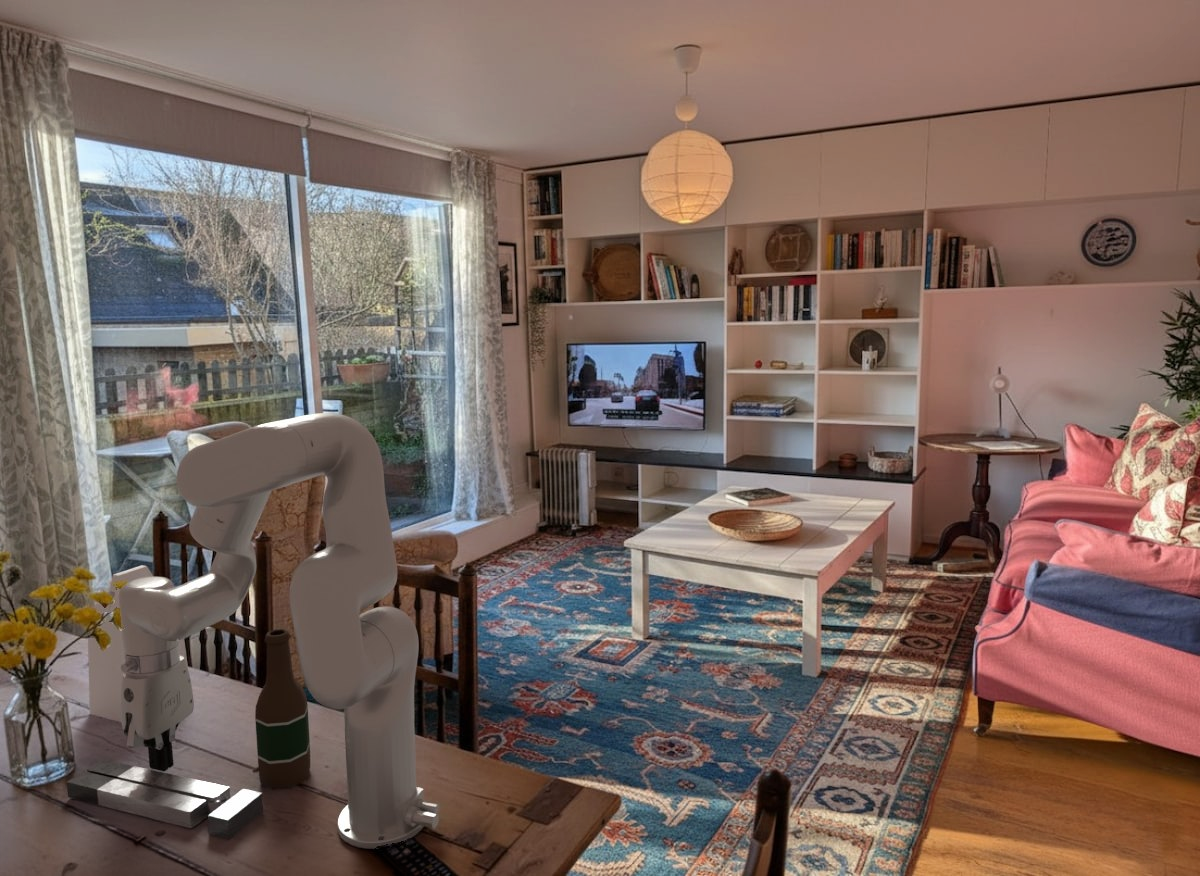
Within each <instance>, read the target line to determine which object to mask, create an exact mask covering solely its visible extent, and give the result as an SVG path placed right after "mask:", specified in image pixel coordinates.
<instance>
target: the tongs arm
mask: <svg viewBox="0 0 1200 876" xmlns="http://www.w3.org/2000/svg"><path fill="white" fill-rule="evenodd" d="M86 772H90V773H94V774H98V775H102V776H106V777H110V778H115V779H119V780H123V781H127V782H131V783H136V784H140V785H144V786H148V787H152V788H157V789H161V790H165V791H169V792H173V793H178V794H182V795H186V796H190V797H194V798H199V799H203V800H206V805H207V813H208V815H209V814H211V813H212V812H213V811H214V810H216V809H217V808H218V807H220V806H221V805H222V804H224V803H225V802H226V801H228V800H229V799H230V798H231V788H230V786H227V785H222V784H218V783H213V782H208V781H204V780H199V779H195V778H191V777H185V776H181V775H178V774H177V775H176V774H171V773H167V772H164V771H159V770H155V769H150V768H149V769H148V768H143V767H139V766H135V765H129V764H125V763H121V762H117V761H111V760H106V759H103V760H101V761H99V762H98V763H96V764H94V765H93V766H91V767H89V768H87V769H86Z"/></svg>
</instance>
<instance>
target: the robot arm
mask: <svg viewBox="0 0 1200 876" xmlns="http://www.w3.org/2000/svg"><path fill="white" fill-rule="evenodd" d="M382 458H383V457H382V454H381V450H380V447H379V445H378V443H377V441H376V439H375V437H374V436H373V435H372V433H371V432H370V431H369V429H368V428H367V427H366V426H364V425H363V424H362V423H361V422H360V421H358V420H356V419H354V418H353V417H350V416H348V415H345V414H341V413H335V412H322V413H321V412H318V413H311V414H306V415H300V416H295V417H291V418H290V417H289V418H287V419H281V420H276V421H270V422H267V423H262V424H258V425H254V426H252V427H249V428H247V429H244V430H241V431H238V432H235V433H232V434H230V435H226V436H224V437H221V438H218V439H215V440H212V441H209V442H206V443H203V444H200V445H197V446H195V447H193V448H192V449H190V450H189V451H188V452H187V453H186V454H185V455H184V456H183V458H181V461H180V463H179V464H178V467H177V472H176V486H177V489H178V491H179V493H180V496H181V498H183V500H184V501H185V502H187V503H188V504H190V505H191V506H194V507H195V510H194V511H193V514H192V517H191V518H190V521H189V526H188V527H189V533H190V536H192V538H193V539H194V540H195V541H196V542H197V543H198V544H200V545H201V547H204V548H206V549H208V550H210V551H213V552H216V554H215V557H214V559H213V561H212V563H211V566H210V568H209V570H208V572H207V573H206V574H204V575H202V576H199V577H197V578H194V579H193V580H190V581H187V582H185V583H182V584H180V585H178V586H175V584H174V583H173V581H172V580H171V579H169V578H168V577H165V576H153V577H144V578H139V579H135V580H133V581H130V582H128V583H126V584H125V585H123V586H122V588H121V589H120V592H119V605H120V616H121V627H122V629H123V628H125V629H124V630H122V638H123V650H124V660H125V663H124V664H122V665H121V670H122V672H124V673H125V674H123V680H122V688H121V722H120V723H121V727H122V732H123V735H124V736H126V737H127V742H126V746H127V748H131V749H137V748H141V747H145V748H147V750H148V751H147V752H148V753H147V754H148V764H149V769H150V770H154V771H159V772H166V771H167V770H169V769H171V768H172V767H174V763H175V762H174V754H173V753H174V752H173V743H172V742H174V741H175V739H176V732H177V730H178V727H179V726H180V725H179V724H182V722H183V721H184V720H185V719H187V718H188V717H190V716H191V715H192V713H193V712H194V709H195V704H194V701H195V700H194V693H193V692H194V691H193V686H192V681H191V677H190V672H189V667H188V668H187V665H186V662H185V659H184V657H183V656H180V650H179V640H182V639H184V640H185V639H187V638H188V637H190V636H193V635H195V634H197V633H199V632H201V631H203V630H204V629H206V628H209V627H211V626H212V625H215V624H217V623H219V622H221V621H223V620H225V619H227V618H229V617H230V616H232V615H233V614H235V613H236V611H237V610H238V609H239V608H240V607H241V606H242V604H243V602H244V600H245V598H246V596H247V594H248V592H249V589H250V587H251V586H252V583H253V580H254V578H255V575H256V571H257V557H256V550H255V548H254V545H253V542H252V541H251V539H252V537H253V535H254V532H255V530H256V528H257V525H258V524H259V521H260V518H261V517H262V514H263V512H264V509H265V507H266V505H267V503H268V500H269V497H270V495H271V493H272V491H275V490H277V489H282V488H285V487H288V486H291V485H295V484H298V483H301V482H304V481H307V480H308V481H309V480H311V479H314V478H317V477H319V476H325V477H326V478H327V482H326V487H325V490H324V494H323V500H322V518H323V523H324V527H325V537H326V538H325V539H326V544H325V545H326V546H325V548H324V549H322V550H319V551H317V552H316V553H313V554H311V555H309V556H308V557H307V558H306V559H304V560H303V561H302V562H301V563H300V564H299V565H298V566H297V568H296V569H295V571H294V572H293V575H292V578H291V580H290V581H291V582H290V586H289V594H288V595H289V604H290V605H289V606H290V607H289V608H290V613H291V619H292V623H293V630H294V637H295V642H296V647H297V654H298V658H299V664H300V665H299V666H300V669H301V670H300V671H301V674H302V677H303V678H302V679H303V681H304V683H305V686H306V687H307V690H308V692H309V693H310V694H311V696H312V697H313V698H314V699H315V700H316V702H318V703H319V704H320V705H322V706H323V707H326V708H327V709H331V710H342V709H344V713H343V714H344V715H343V716H344V717H343V718H344V742H345V744H344V745H345V764H346V783H347V785H346V786H347V789H346V790H347V805H346V806H345V807H344V808H343V809H342V810H341V812H340V813H339V815H338V818H337V833H338V834H339V837H340V838H341V839H342V840H343V841H344V842H345V843H347V844H349V845H351V846H354V847H356V848H360V849H361V848H362V849H370V850H371V849H375V848H376V847H377V846H381V845H386V844H388V845H389V844H392V843H397V842H401V841H403V840H405V839H408V838H410V839H412V838H413V837H415V836H416V835H418V834H419V832H420V831H421V832H422V830H423V828H424V827H426V828H430V829H436V828H437V827H438V824H439V821H440V816H439V814H438V813H439V811H440V804H438V803H434V802H428V801H426V799H424V788H423V787H419V786H418V787H417V766H416V765H417V764H416V737H415V736H416V735H415V683H416V682H415V681H416V673H417V665H418V658H419V649H420V648H419V635H418V631H417V628H416V626H415V623H414V621H413V620H412V619H411V617H410V616H409V615H408V614H407V613H406V612H404V611H402V610H401V609H400V608H397V607H392V606H384V605H383V606H378V607H375V608H370V609H368V608H369V607H371V606H372V605H375V604H376V603H378V602H379V601H381V600H382V599H383V598H384V597H386V596H387V595H388V594H390V593H391V592H392V590H393V589H394V588H395V586H396V584H397V582H398V581H397V580H398V564H397V558H396V552H395V551H396V550H395V546H394V539H393V533H392V527H391V520H390V515H389V510H388V505H387V504H388V503H387V499H386V497H387V496H386V489H385V488H386V487H385V477H384V476H385V475H384V474H385V473H384V464H383V459H382ZM367 609H368V610H367ZM142 610H143V612H142ZM364 610H367V611H364ZM362 611H364V612H362ZM361 612H362V613H361ZM381 839H383V840H381ZM376 849H377V848H376Z"/></svg>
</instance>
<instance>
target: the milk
mask: <svg viewBox="0 0 1200 876" xmlns="http://www.w3.org/2000/svg"><path fill="white" fill-rule="evenodd" d="M144 577H154V575H153V573H152V572H151V570H150V568H149V567H148V566H147V565H142V564H141V565H139V566H136V567H132V568H129V569H127V570H123V571H120V572H117V573H113V574H112V577H111V581H110V585H109V589H108V592H107V593H108V594H110V595H111V596H112V597H113V598H114V600H115V603H114V604H110V605H108V606H107V607H106V608H104V607H103V606H102V605H100V604H98V603H96V604H95V606H94V607H93V608H95V609H97V611H98V612H99V613H100V614H103V613H104V612H107V613H110V612H112V611H113V610H114V609H115V608H116V607H117V608H120V605H119V592H120V589H119V588H117V590H116V589H115V587H117V586H116V585H115V586H113V582H116V581H127V582H130V581H133V580H135V579H139V578H144ZM118 583H125V582H117V583H115V584H118ZM119 586H120V585H119ZM110 618H111V616H110V615H108V616H107V618H106V622H105V623H103V624H102V625H101V629H102V630H104V631H106V632H107V633H108V634H109V636H110V637H111V639H112V640H113V641H112V643H111V644H110V646H109V647H108V648H107V649H106V650H105V651H102V650H101V649H100V648H99V645H98V643H97V641H96V639H95V638H88V637H87V648H88V649H87V651H88V652H87V654H88V691H89V692H88V693H89V695H88V698H89V699H88V701H89V702H88V703H89V715H90V716H91V715H92V716H96V717H100V718H104V719H107V720H110V721H114V722H115V721H116V722H118V723H122V722H121V688H122V680H123V674H125V673H124V672H122V670H121V665H122V664H124V663H125V660H124V650H123V638H122V631H120V630H118V629H117V628H116V627H115V626H114V625H113V624H112V623H111V622H109V620H110ZM179 650H180V656H183V657H184V659H185V662H186V665H187V668H188V669H189V665H188V660H187V658H188V657H187V650H186V643H185V638H184V639H182V640H179Z"/></svg>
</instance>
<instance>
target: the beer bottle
mask: <svg viewBox="0 0 1200 876" xmlns="http://www.w3.org/2000/svg"><path fill="white" fill-rule="evenodd" d="M290 638H291V633H290V631H289V630H287V629H285V628H281V629H280V628H279V629H276V628H275V629H273V630H271V631H267V633H266V634H265V638H264V643H266V675H265V676H266V678H265V683H264V686H263V688H262V689H261V691H260V693H259V695H258V699H257V702H256V704H255V713H254V715H255V716H254V717H255V735H256V749H257V765H258V766H257V767H258V776H259V782H260V784H261V785H262V786H265V787H266V788H268V789H270V790H271V791H273V790H274V791H275V790H276V791H277V790H285V789H292V788H294V787H296V786H298V785H299V784H301V783H303V782H305V781H306V780H308V777H309V774H310V769H311V744H310V742H311V741H310V726H309V725H310V724H309V708H308V707H309V706H308V699H307V698H308V697H307V694H306V691H305V689H304V688H303V686H302V685H301V684H300V683H299V681H298V680H297V679H296V677H295V675H294V671H293V663H292V656H291V655H292V654H291V649H290V641H289V640H290Z"/></svg>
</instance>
